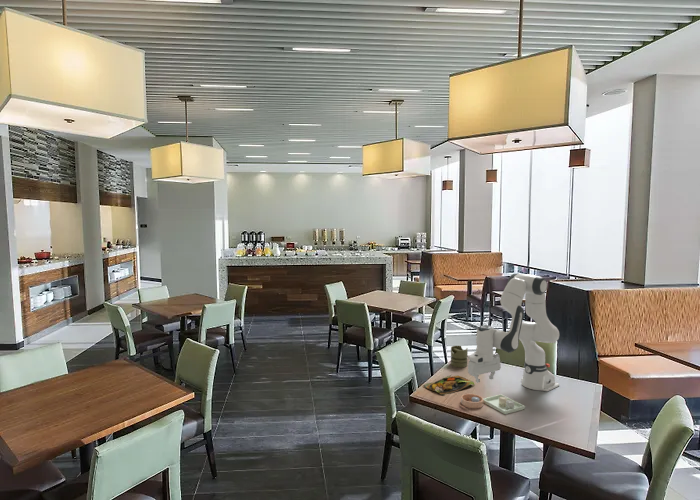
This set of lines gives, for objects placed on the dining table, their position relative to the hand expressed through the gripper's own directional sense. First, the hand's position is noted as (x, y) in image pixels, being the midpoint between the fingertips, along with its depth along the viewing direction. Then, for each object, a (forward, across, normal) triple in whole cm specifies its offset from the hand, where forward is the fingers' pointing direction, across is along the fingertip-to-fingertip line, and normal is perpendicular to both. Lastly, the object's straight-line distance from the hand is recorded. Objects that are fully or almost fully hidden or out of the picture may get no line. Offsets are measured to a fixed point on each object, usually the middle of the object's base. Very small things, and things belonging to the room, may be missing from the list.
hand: (484, 380), depth 221 cm
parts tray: (+14, -8, +5) cm, 17 cm away
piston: (+15, -30, -57) cm, 67 cm away
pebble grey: (+14, -8, +10) cm, 19 cm away
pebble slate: (+13, +5, -1) cm, 14 cm away
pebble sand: (+14, -8, +5) cm, 17 cm away
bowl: (+14, +5, -4) cm, 15 cm away
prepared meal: (+15, +1, -30) cm, 33 cm away
